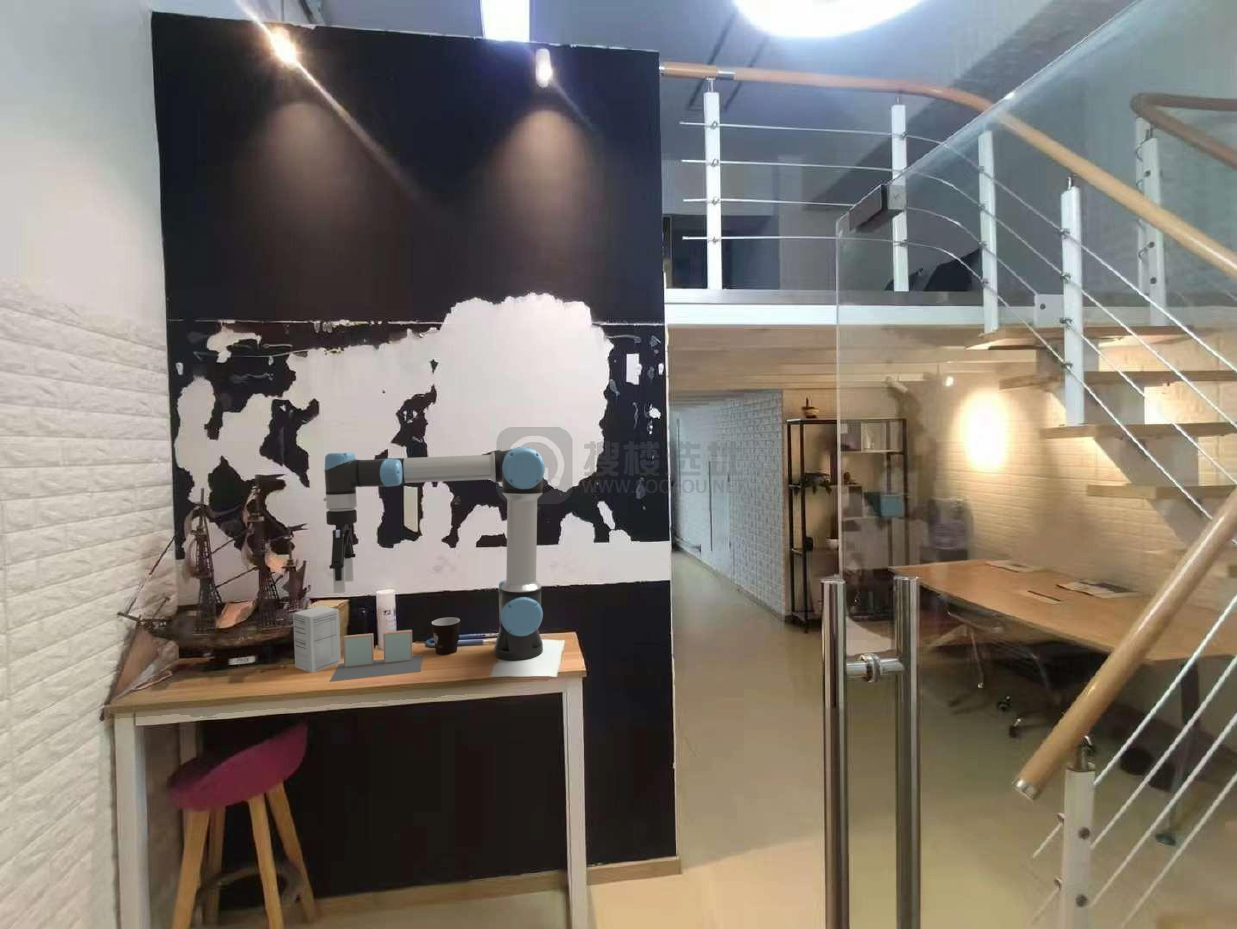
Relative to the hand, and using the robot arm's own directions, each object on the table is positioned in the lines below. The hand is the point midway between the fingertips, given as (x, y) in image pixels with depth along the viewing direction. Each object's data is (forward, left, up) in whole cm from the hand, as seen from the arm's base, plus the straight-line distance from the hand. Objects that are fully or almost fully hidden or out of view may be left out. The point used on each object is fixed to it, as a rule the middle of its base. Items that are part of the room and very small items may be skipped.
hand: (344, 586), depth 161 cm
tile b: (-1, -14, -27) cm, 30 cm away
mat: (-7, -10, -27) cm, 30 cm away
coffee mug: (-26, -17, -27) cm, 41 cm away
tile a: (-12, -14, -27) cm, 32 cm away
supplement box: (+11, -18, -27) cm, 34 cm away
